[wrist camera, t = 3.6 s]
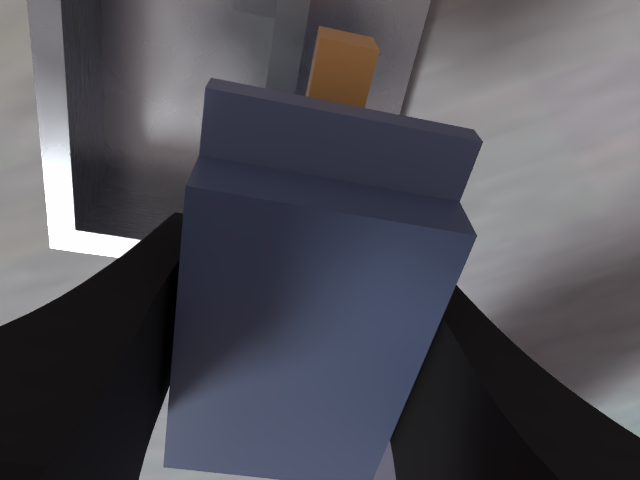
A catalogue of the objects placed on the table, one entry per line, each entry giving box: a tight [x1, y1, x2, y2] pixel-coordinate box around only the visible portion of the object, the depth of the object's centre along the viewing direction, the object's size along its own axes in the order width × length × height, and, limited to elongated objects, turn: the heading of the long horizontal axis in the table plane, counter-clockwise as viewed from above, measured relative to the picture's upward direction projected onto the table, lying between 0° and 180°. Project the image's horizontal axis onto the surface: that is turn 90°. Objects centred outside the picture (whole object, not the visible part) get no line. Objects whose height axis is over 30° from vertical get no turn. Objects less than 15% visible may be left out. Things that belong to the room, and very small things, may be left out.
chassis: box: [27, 0, 431, 258], centre depth 17 cm, size 11×11×4 cm
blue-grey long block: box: [164, 26, 483, 480], centre depth 10 cm, size 9×4×4 cm, turn 168°
